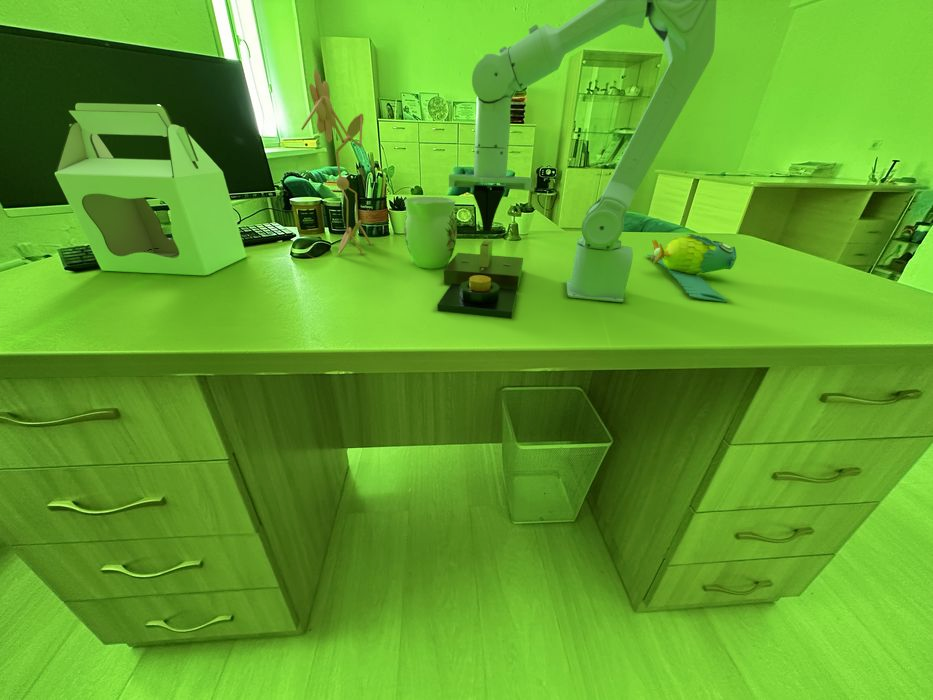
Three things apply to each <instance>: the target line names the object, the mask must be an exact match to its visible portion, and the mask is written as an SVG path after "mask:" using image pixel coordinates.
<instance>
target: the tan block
mask: <svg viewBox="0 0 933 700" xmlns="http://www.w3.org/2000/svg"><path fill="white" fill-rule="evenodd" d="M493 244H494V239H489V238H484V240H483V241H482V243H481V244H480V248H479V254H480V267H488V266H489V264H490V262H491V260H492V255H493V246H494V245H493Z"/></svg>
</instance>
